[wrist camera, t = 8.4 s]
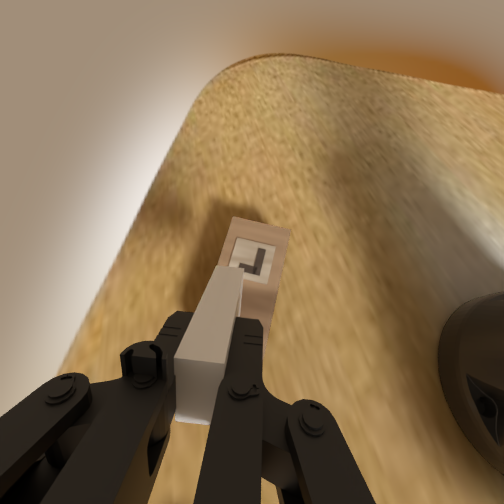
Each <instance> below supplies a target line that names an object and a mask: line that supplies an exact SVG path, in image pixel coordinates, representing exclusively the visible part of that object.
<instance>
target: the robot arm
mask: <svg viewBox="0 0 504 504" xmlns="http://www.w3.org/2000/svg"><path fill="white" fill-rule="evenodd" d="M243 276H244V268H237V267H228V266H219V265H216V267H215V269H214V271H213V274H212V276H211V278H210V280H209V282H208V284H207V287H206V289H205V291H204V293H203V295H202V297H201V300H200V302H199V304H198V306H197V308H196V310H195V313H192V312H183V311H177V312H175V313H174V314H172V315H171V316H170V317H168V319H167V320H166V322H165V324H164V325H163V328H162V329H161V330H160V332H159V335H157V337H156V339H155V340H154V341H142V342H138V343H135V344H133V345H131V346H129V347H127V348H126V349H125V350H124V351H123V352H122V353H121V354H120V359H121V367H122V375H123V376H122V377H121V378H119V379H115V380H111V381H105V382H98V383H92V384H90V383H89V379H88V377H86V376H85V375H84V374H81V373H75V372H74V373H67V374H63V375H60V376H57V377H55V378H52V379H51V380H49V381H48V382H46V383H44V384H43V385H42V386H40V387H39V388H38V389H36V390H35V391H34V392H32V393H31V394H30V395H29V396H27V397H26V398H25V399H23V400H22V401H21V402H19V403H18V404H17V405H16V406H14V407H13V408H12V409H11V410H9V411H8V412H7V413H6V414H4V415H3V416H1V417H0V504H147V503H148V500H149V497H150V494H151V491H152V489H153V486H154V483H155V480H156V477H157V474H158V471H159V468H160V465H161V462H162V459H163V456H164V453H165V451H166V448H167V445H168V442H169V438H170V424H171V421H172V419H173V416H174V413H175V421H180V422H188V423H196V424H204V425H210V429H209V433H208V438H207V443H206V447H205V452H204V457H203V461H202V466H201V471H200V475H199V480H198V484H197V489H196V494H195V498H194V503H193V504H261V477H262V478H264V479H266V480H267V481H269V482H271V483H273V484H274V485H276V490H277V494H278V499H279V504H376V503H375V501H374V499H373V497H372V495H371V493H370V491H369V488H368V486H367V484H366V482H365V480H364V478H363V476H362V474H361V472H360V470H359V468H358V466H357V464H356V462H355V459H354V457H353V455H352V453H351V451H350V449H349V447H348V445H347V443H346V441H345V439H344V437H343V435H342V433H341V431H340V428H339V426H338V424H337V422H336V420H335V418H334V417H333V416H332V414H331V413H330V411H329V410H328V409H327V408H325V407H324V406H323V405H322V404H320V403H318V402H315V401H313V400H306V399H302V400H299V401H296V402H295V403H294V404H293V405H290V404H288V403H285V402H283V401H281V400H279V399H277V398H276V397H274V396H273V395H272V394H270V393H269V392H268V390H267V389H266V387H265V386H264V383H263V379H262V363H263V326H262V324H261V322H260V321H259V319H251V318H242V317H239V316H240V309H241V298H242V287H243ZM438 363H439V372H440V378H441V383H442V387H443V390H444V393H445V396H446V399H447V402H448V404H449V407H450V409H451V411H452V413H453V415H454V417H455V419H456V421H457V422H458V424H459V426H460V427H461V429H462V431H463V432H464V434H465V435H466V436H467V438H468V439H469V441H470V442H471V443H472V444H473V446H474V447H475V448H476V449H477V451H478V452H479V453H480V454H481V455H482V456H483V457H484V458H485V459H486V460H487V461H488V462H489V463H490V464H491V465H492V466H493V467H494V468H495V469H497V470H498V471H499V472H500V473H501V474H503V475H504V292H500V293H495V294H491V295H487V296H483V297H480V298H476V299H473V300H471V301H469V302H467V303H465V304H464V305H462V306H461V307H459V308H458V309H457V310H456V311H455V312H454V313H453V314H452V316H451V317H450V318H449V320H448V321H447V323H446V325H445V327H444V329H443V332H442V335H441V339H440V344H439V353H438Z"/></svg>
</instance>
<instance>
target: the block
mask: <svg viewBox="0 0 504 504" xmlns="http://www.w3.org/2000/svg"><path fill="white" fill-rule="evenodd" d="M290 232H291V229H286V228H282V227H278V226H273V225H269V224H265V223H260V222H256V221H252V220H248V219H243V218H239V217H235V216H233V217H232V221H231V224H230V227H229V230H228V233H227V236H226V239H225V242H224V245H223V248H222V252H221V255H220V258H219V261H218V264H217V265H219V266H228V267H237V268H244V276H243V287H242V298H241V309H240V316H239V317H242V318H251V319H259V321H260V322H261V324H262V326H263V358H264V354H265V349H266V344H267V340H268V335H269V330H270V326H271V321H272V316H273V312H274V307H275V302H276V298H277V293H278V288H279V284H280V279H281V274H282V269H283V265H284V260H285V255H286V251H287V246H288V241H289V237H290Z"/></svg>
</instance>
